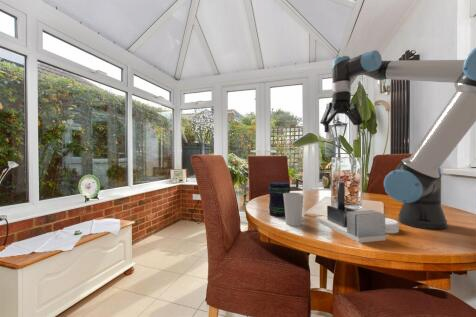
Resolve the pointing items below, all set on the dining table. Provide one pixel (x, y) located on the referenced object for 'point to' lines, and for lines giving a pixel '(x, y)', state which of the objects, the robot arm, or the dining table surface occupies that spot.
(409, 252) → the dining table surface
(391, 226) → the coaster
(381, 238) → the base board
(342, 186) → the dark grey l-shaped bracket
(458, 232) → the dining table surface
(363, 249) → the dining table surface
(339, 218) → the sleeve and socket
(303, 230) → the dining table surface
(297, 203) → the cup
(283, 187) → the storage jar
